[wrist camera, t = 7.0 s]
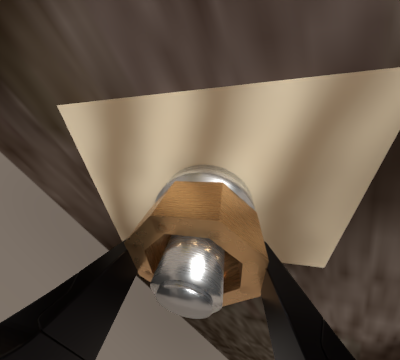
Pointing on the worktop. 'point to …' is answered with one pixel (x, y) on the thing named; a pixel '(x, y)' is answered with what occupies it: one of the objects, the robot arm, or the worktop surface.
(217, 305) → the silver door knob
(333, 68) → the worktop surface
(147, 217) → the ring
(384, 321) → the worktop surface
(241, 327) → the worktop surface
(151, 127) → the board
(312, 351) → the robot arm
